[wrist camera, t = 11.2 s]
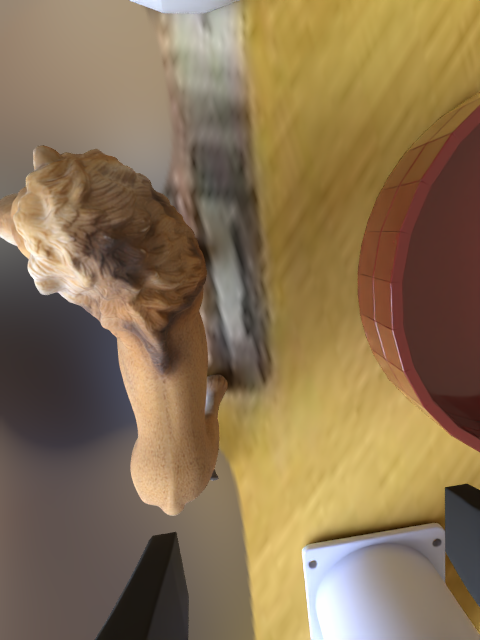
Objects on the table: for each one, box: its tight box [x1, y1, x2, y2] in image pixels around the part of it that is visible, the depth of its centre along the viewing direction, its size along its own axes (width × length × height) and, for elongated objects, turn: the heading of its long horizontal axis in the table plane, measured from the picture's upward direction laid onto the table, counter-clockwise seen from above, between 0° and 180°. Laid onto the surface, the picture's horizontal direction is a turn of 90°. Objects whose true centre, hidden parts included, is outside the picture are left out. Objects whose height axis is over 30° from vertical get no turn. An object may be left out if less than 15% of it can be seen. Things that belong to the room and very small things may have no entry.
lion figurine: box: [0, 145, 227, 515], centre depth 14 cm, size 15×5×9 cm, turn 16°
